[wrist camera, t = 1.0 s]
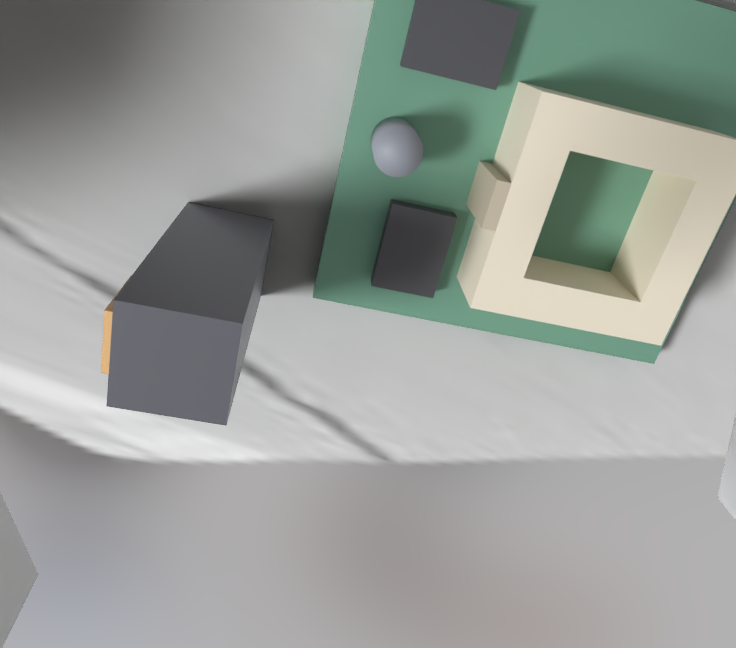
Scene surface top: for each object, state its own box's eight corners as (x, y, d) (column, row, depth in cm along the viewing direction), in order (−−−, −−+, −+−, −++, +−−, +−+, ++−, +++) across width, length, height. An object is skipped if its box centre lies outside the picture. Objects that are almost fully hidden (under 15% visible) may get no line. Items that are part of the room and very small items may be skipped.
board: (313, 287, 32) (309, 330, 27) (391, -82, 25) (402, -100, 21) (644, 352, 34) (687, 401, 30) (797, 33, 27) (880, 38, 23)
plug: (170, 278, 31) (92, 404, 21) (178, 200, 29) (98, 297, 20) (260, 295, 32) (226, 425, 22) (273, 220, 30) (242, 323, 20)
